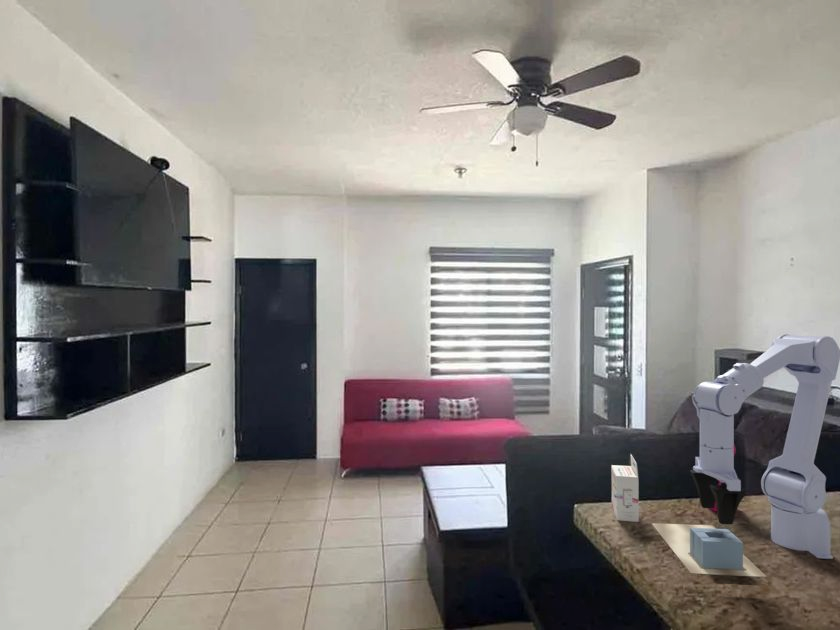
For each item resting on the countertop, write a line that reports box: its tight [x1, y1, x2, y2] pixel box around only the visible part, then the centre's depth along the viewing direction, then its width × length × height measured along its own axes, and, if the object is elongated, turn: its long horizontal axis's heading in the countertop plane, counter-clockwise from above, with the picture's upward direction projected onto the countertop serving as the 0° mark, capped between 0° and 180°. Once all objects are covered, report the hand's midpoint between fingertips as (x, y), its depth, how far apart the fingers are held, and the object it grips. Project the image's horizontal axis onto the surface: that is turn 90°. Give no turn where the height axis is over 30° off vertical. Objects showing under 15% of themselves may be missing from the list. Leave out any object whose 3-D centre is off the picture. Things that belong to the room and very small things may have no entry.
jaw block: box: [690, 528, 744, 570], centre depth 100 cm, size 7×6×5 cm
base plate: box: [651, 522, 768, 578], centre depth 106 cm, size 13×22×6 cm, turn 174°
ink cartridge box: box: [610, 453, 640, 523], centre depth 123 cm, size 9×5×15 cm, turn 168°
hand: (716, 515), depth 101 cm, fingers open, 7 cm apart
